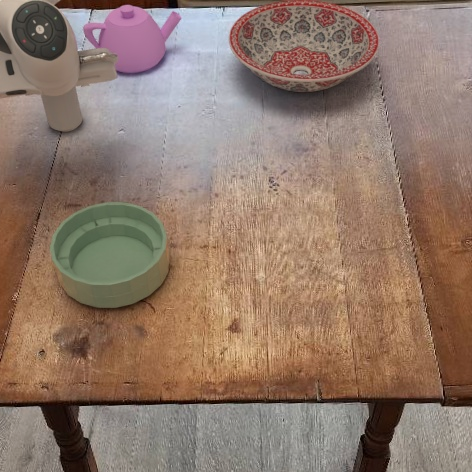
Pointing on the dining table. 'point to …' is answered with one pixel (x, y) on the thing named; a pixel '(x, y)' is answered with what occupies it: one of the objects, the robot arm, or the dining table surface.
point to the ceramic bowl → (303, 43)
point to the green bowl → (110, 254)
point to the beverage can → (63, 110)
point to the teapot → (132, 37)
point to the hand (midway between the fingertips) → (56, 86)
